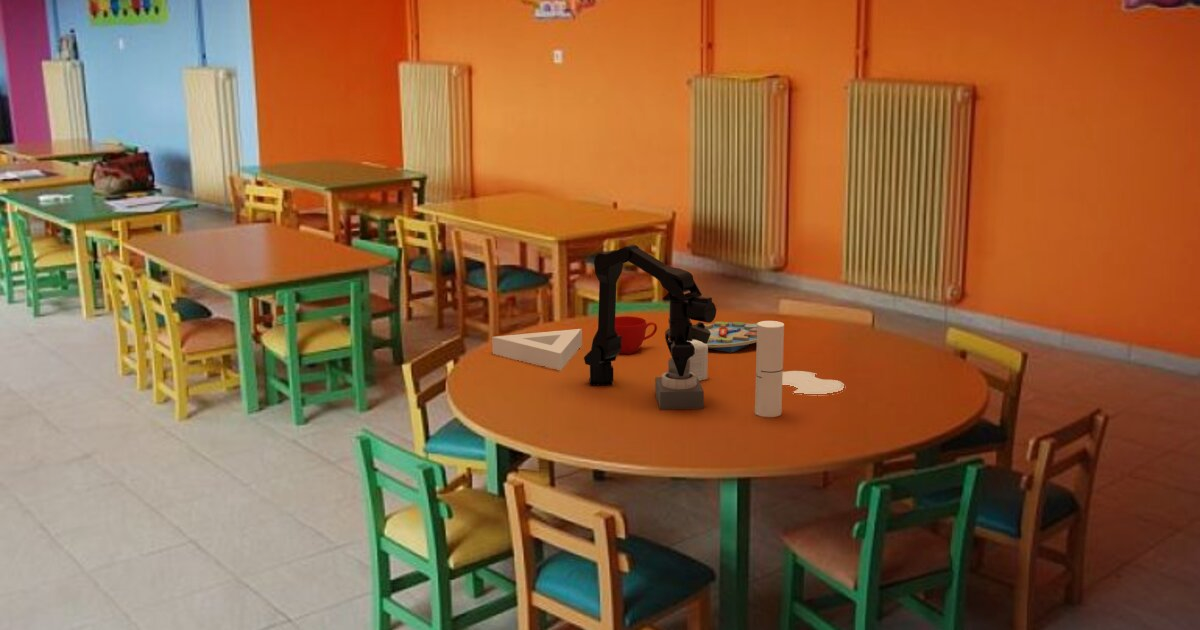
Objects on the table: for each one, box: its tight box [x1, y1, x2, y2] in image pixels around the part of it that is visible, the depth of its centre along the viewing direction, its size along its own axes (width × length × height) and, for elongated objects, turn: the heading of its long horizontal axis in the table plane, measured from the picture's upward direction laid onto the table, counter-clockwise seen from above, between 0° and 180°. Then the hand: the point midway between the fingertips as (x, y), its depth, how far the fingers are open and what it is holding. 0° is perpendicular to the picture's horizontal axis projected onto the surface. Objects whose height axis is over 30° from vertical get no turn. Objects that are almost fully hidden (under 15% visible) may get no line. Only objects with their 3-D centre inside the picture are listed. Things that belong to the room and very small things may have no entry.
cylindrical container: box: [754, 320, 785, 418], centre depth 325 cm, size 7×7×25 cm
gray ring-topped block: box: [654, 371, 705, 410], centre depth 338 cm, size 12×14×8 cm
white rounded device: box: [687, 340, 709, 382], centre depth 356 cm, size 10×4×12 cm, turn 123°
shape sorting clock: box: [692, 321, 757, 353], centre depth 399 cm, size 31×30×6 cm
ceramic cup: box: [615, 315, 658, 355], centre depth 388 cm, size 13×17×10 cm
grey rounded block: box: [667, 357, 690, 380], centre depth 337 cm, size 6×6×7 cm
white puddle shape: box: [782, 370, 845, 394], centre depth 354 cm, size 20×2×25 cm
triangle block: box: [491, 328, 583, 372], centre depth 379 cm, size 30×26×6 cm
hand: (679, 371), depth 337 cm, fingers open, 9 cm apart
